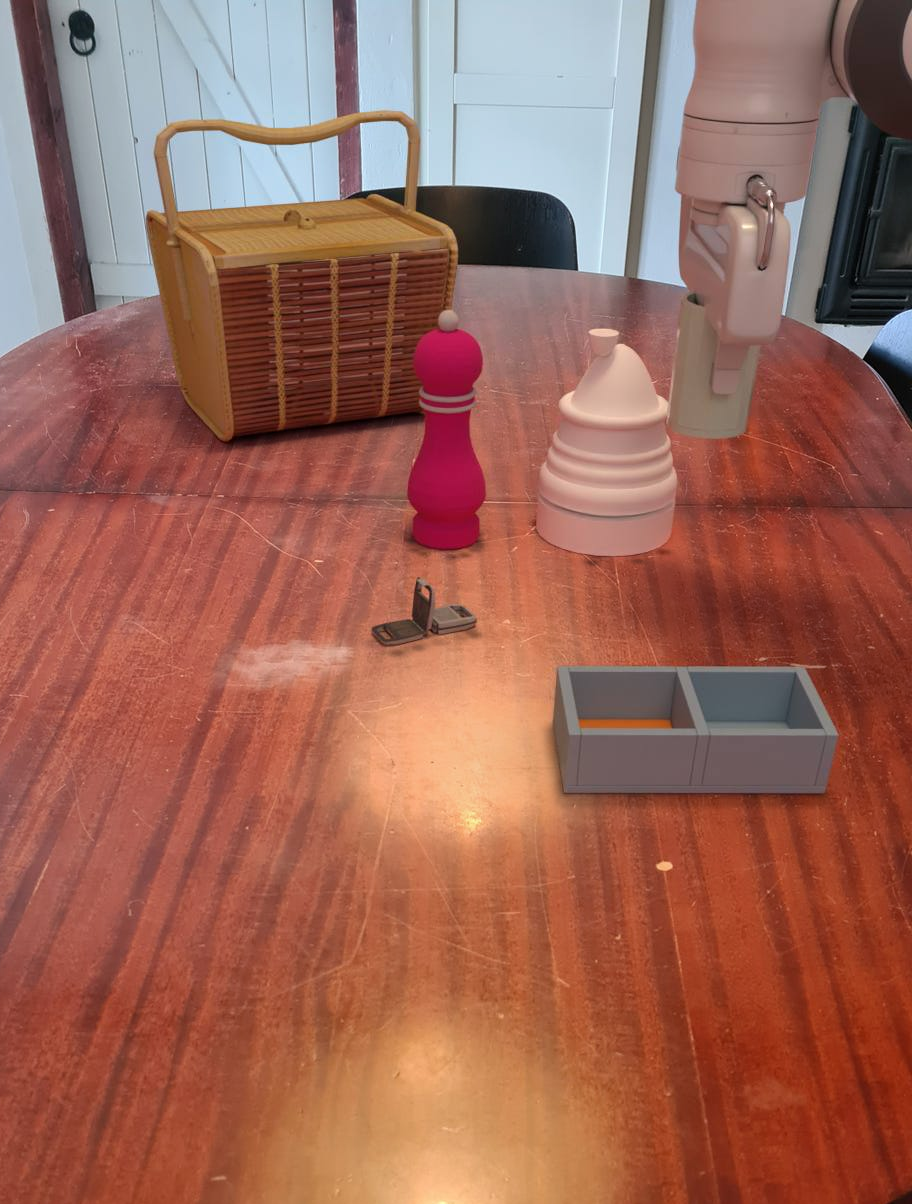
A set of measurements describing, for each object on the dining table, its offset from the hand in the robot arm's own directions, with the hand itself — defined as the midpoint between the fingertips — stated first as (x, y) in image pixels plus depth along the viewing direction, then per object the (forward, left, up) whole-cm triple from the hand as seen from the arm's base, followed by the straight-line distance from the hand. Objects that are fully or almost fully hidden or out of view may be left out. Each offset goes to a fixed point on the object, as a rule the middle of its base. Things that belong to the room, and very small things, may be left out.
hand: (713, 376), depth 92 cm
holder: (+3, +22, -19) cm, 30 cm away
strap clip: (+21, +3, -19) cm, 29 cm away
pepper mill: (+19, -16, -19) cm, 32 cm away
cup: (0, 0, -4) cm, 4 cm away
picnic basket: (+35, -53, -19) cm, 67 cm away
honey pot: (+4, -18, -19) cm, 27 cm away
